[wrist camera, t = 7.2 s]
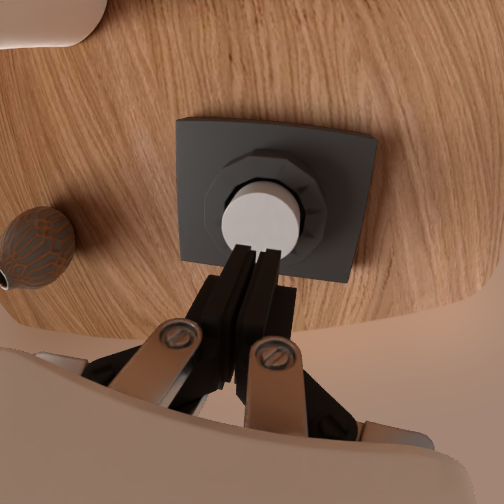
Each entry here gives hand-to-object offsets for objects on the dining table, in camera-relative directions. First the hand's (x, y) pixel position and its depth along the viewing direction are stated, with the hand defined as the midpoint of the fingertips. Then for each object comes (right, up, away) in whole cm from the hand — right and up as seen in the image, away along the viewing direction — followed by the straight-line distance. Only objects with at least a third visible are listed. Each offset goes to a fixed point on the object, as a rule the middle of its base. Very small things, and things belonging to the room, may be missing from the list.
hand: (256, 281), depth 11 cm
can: (-14, +20, +3) cm, 25 cm away
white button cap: (+1, +3, +6) cm, 7 cm away
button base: (+1, +5, +9) cm, 10 cm away
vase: (-19, +3, +14) cm, 24 cm away
